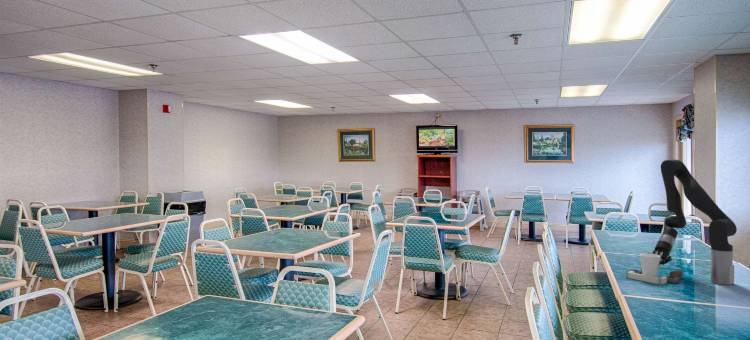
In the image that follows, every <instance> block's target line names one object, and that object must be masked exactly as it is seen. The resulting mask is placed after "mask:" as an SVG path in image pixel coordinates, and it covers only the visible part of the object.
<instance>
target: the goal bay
mask: <svg viewBox="0 0 750 340" xmlns="http://www.w3.org/2000/svg"><path fill="white" fill-rule="evenodd" d="M625 277H626V279H627V278H628V279H631V280H636V281H642V282H645V283H646V282H647V283H651V284H655V285H664V284H668V283H667V277H666V276H661V277H658V276H657V277H652V276H647V275H642V274H637V273H635V271H629V272H628V271H626V273H625Z"/></svg>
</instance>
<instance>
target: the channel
mask: <svg viewBox="0 0 750 340" xmlns="http://www.w3.org/2000/svg"><path fill="white" fill-rule="evenodd" d="M640 271H642V268H641V267H640ZM669 276H672V277H678V278H680V279H682V278H683V269H676V270H673V271H672V270H671V271H669Z"/></svg>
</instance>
